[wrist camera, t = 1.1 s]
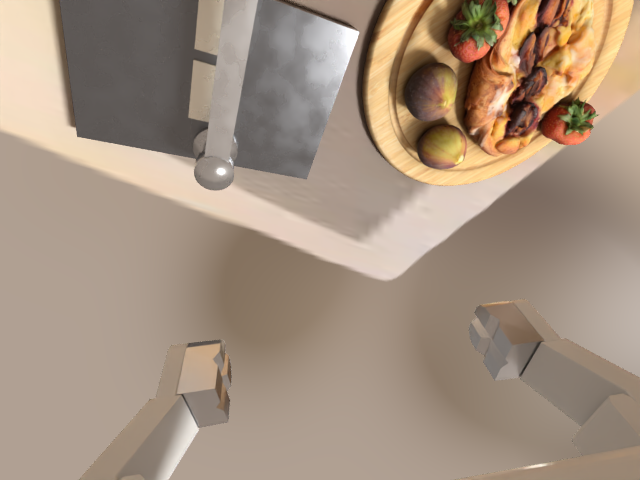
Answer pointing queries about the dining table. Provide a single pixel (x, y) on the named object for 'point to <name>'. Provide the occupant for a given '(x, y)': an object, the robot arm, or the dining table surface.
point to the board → (203, 77)
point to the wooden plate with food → (485, 81)
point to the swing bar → (226, 94)
